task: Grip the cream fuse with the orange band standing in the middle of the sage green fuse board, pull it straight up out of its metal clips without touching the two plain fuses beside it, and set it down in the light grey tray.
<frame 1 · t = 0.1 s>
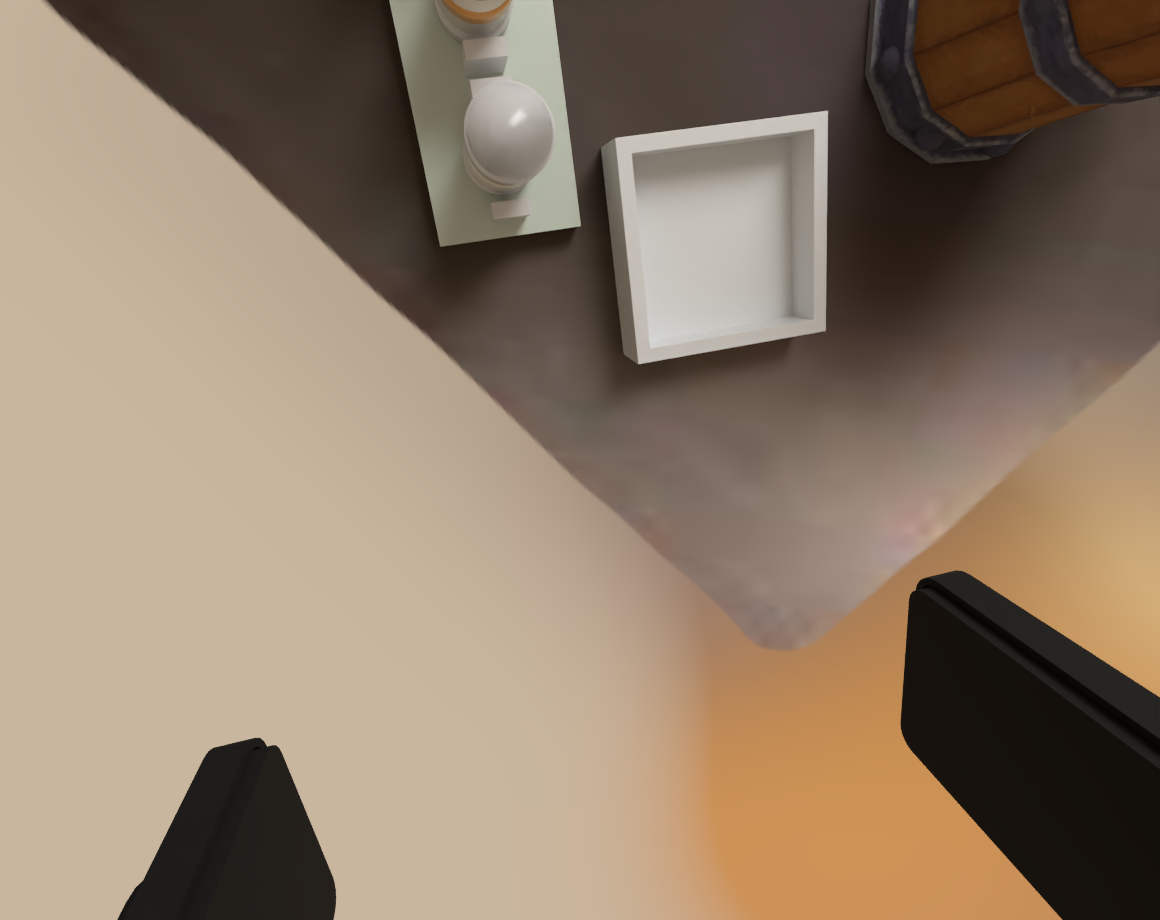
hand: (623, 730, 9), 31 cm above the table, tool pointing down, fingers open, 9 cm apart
tray: (706, 242, 38), on the table
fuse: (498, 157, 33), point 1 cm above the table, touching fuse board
marked fuse: (472, 2, 30), point 1 cm above the table, touching fuse board
fuse board: (472, 13, 32), on the table
mug: (1006, 21, 37), on the table
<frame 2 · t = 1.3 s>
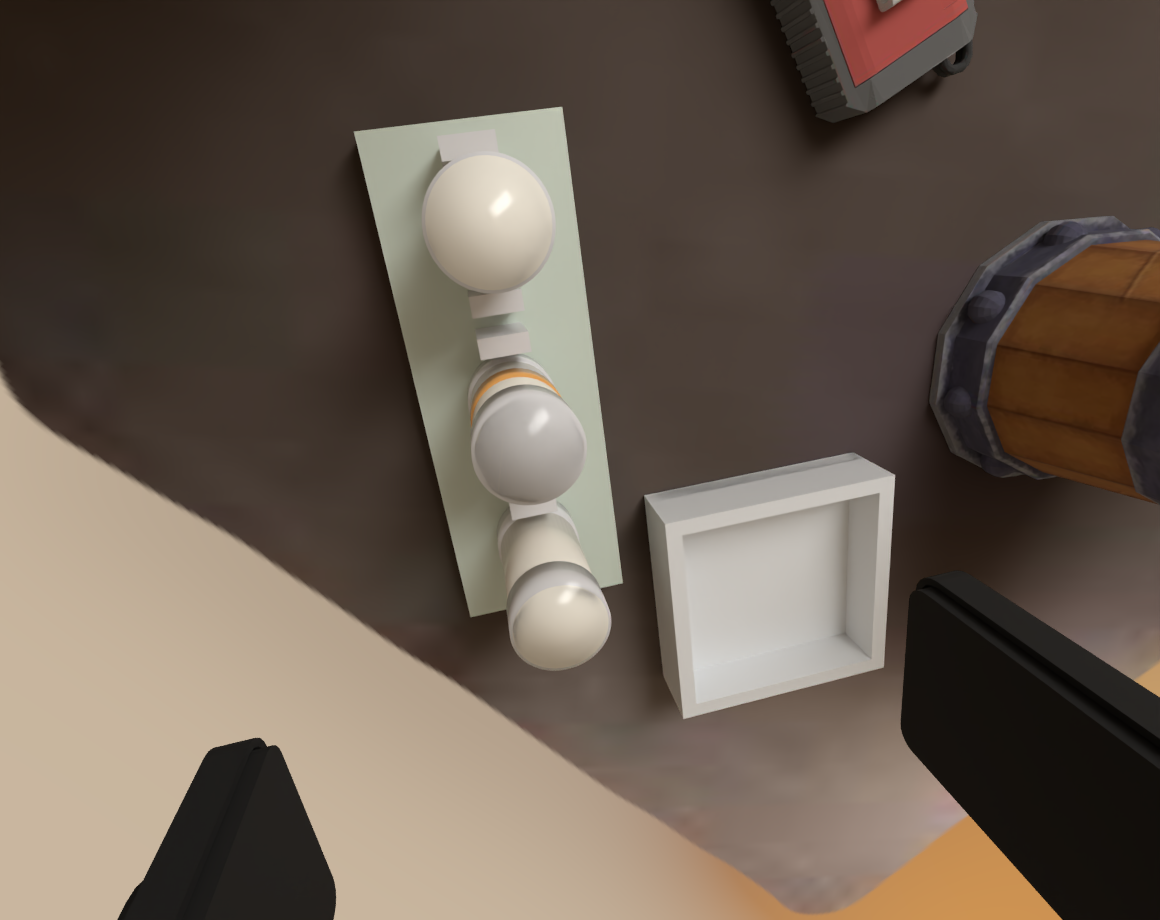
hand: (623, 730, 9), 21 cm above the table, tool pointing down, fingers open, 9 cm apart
tray: (754, 568, 35), on the table
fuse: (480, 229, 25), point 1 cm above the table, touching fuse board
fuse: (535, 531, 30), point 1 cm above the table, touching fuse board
marked fuse: (510, 394, 27), point 1 cm above the table, touching fuse board
fuse board: (507, 387, 29), on the table
mug: (1081, 337, 34), on the table
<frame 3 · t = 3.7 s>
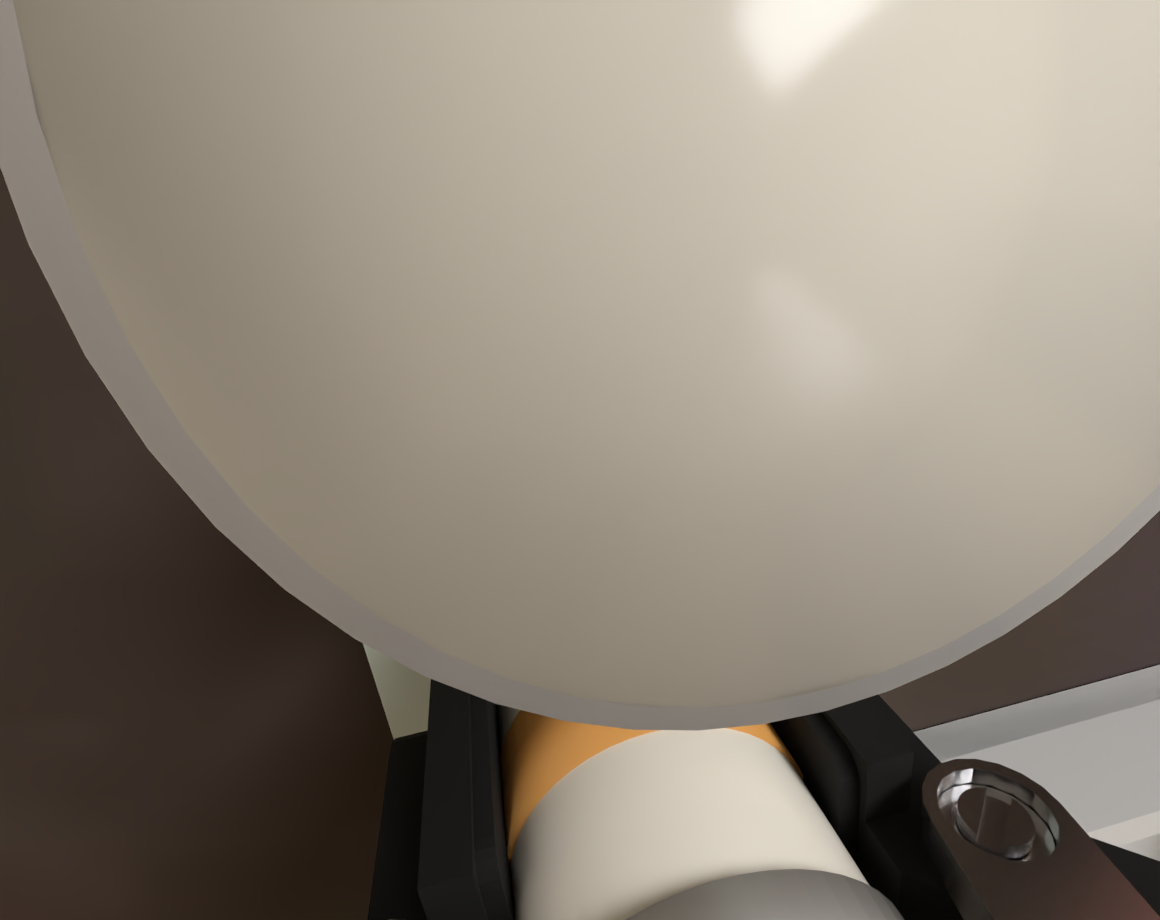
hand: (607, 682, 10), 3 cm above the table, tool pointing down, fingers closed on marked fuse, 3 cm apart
tray: (1003, 850, 19), on the table
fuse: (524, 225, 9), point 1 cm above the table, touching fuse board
marked fuse: (586, 619, 11), point 2 cm above the table, touching fuse board, gripper
fuse board: (572, 578, 13), on the table
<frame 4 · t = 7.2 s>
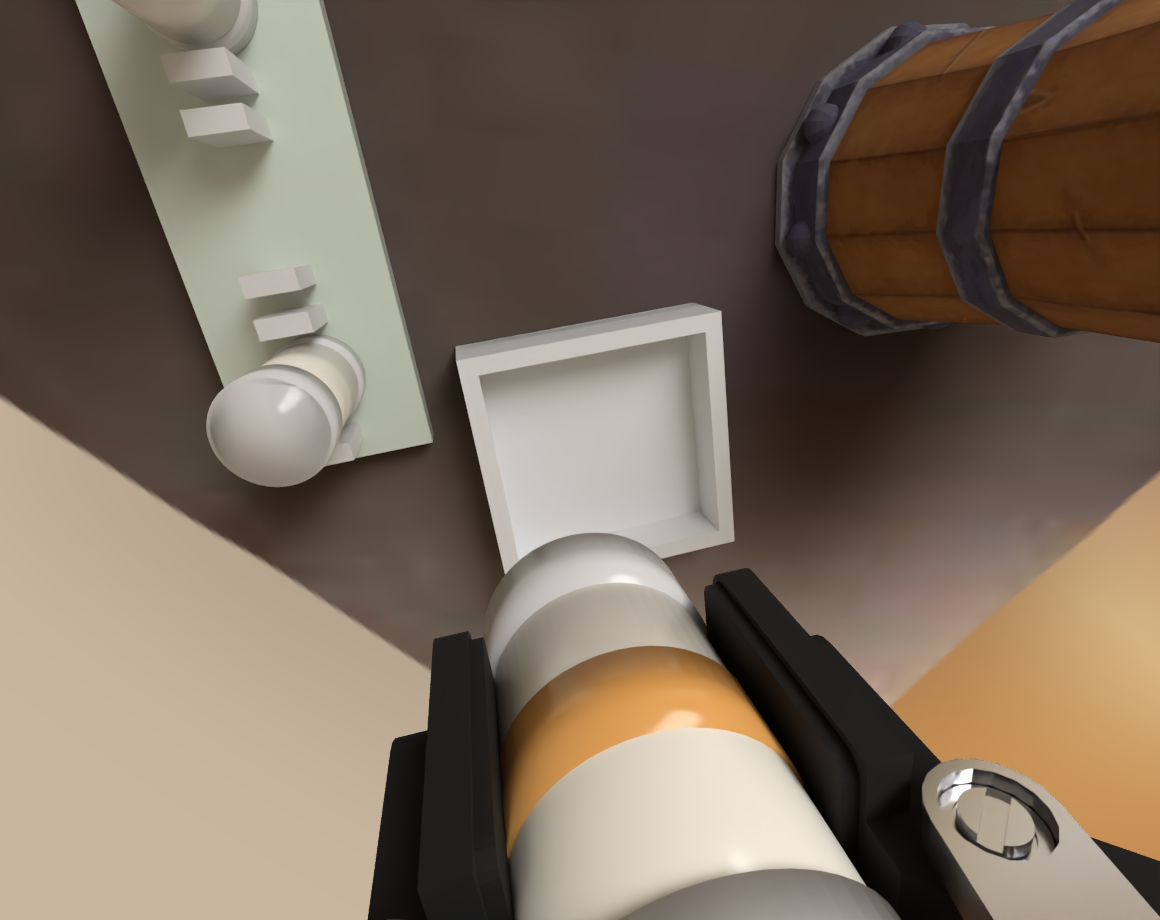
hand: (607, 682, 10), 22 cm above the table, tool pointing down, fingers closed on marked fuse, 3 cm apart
tray: (594, 437, 32), on the table
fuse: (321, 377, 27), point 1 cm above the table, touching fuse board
marked fuse: (585, 623, 11), point 20 cm above the table, touching gripper
fuse board: (277, 209, 26), on the table
mug: (944, 175, 31), on the table
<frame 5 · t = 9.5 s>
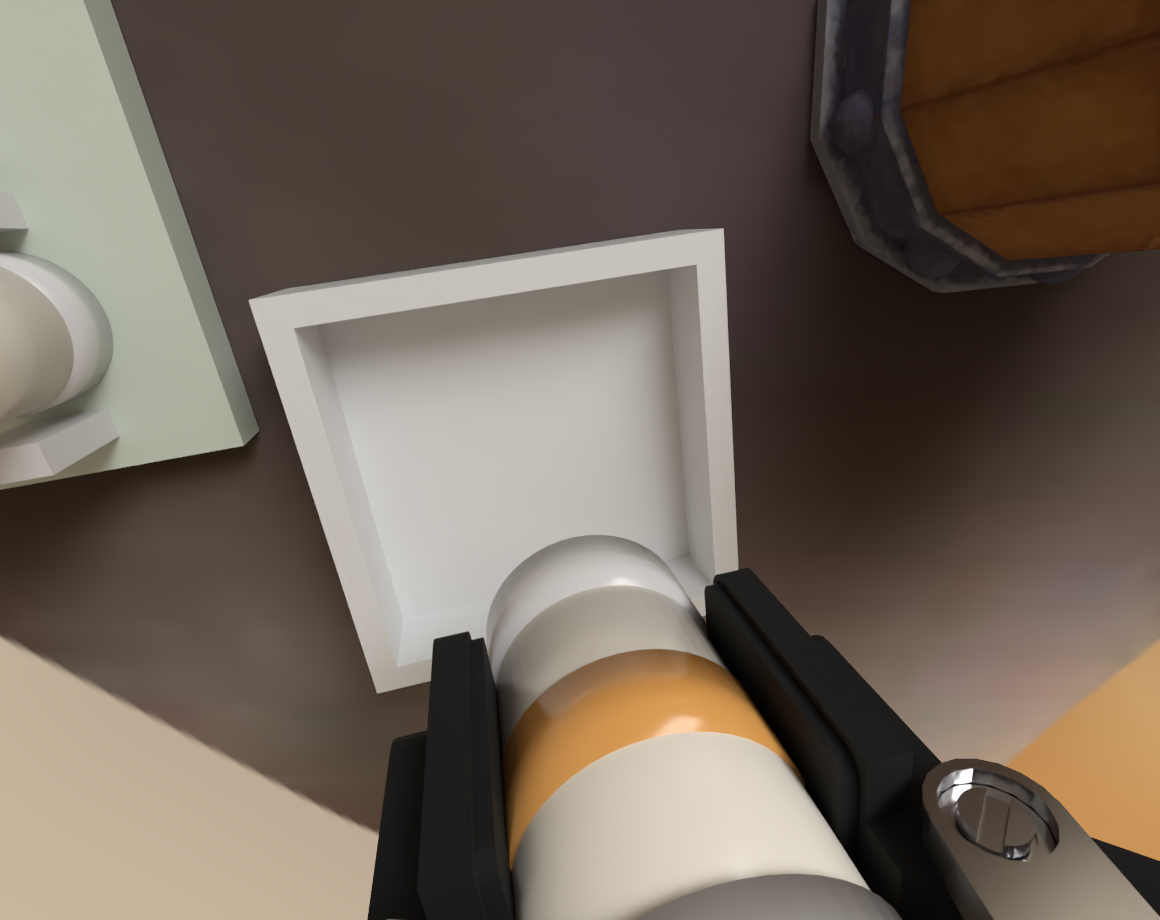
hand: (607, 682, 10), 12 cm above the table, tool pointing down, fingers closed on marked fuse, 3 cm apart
tray: (523, 442, 21), on the table
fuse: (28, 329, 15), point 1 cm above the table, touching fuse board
marked fuse: (587, 626, 11), point 10 cm above the table, touching gripper
mug: (1075, 38, 20), on the table
when the fingers open (4 cm above the table, at t = 11.2 s): marked fuse drops 1 cm, resting on tray.
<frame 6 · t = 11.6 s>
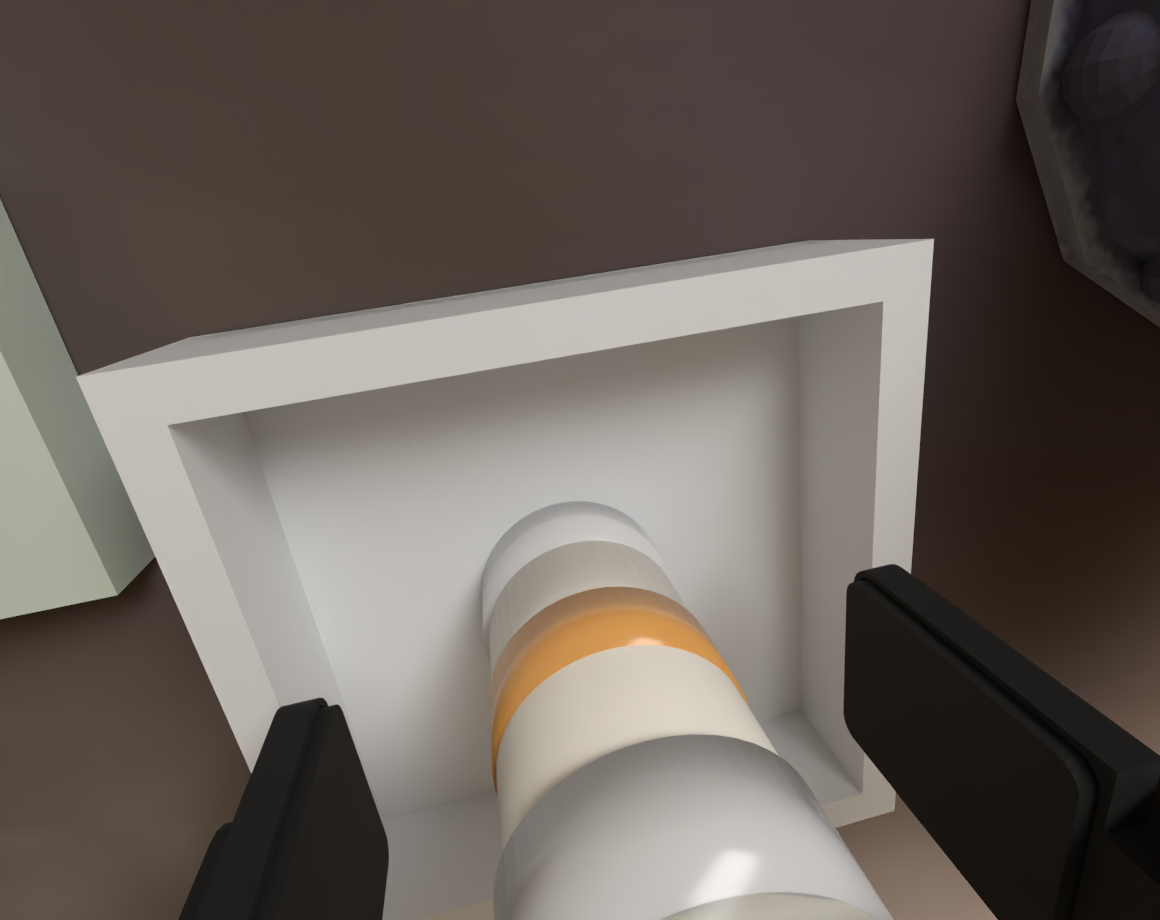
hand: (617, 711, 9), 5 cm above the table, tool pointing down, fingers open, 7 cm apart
tray: (565, 557, 14), on the table
marked fuse: (572, 584, 13), point 1 cm above the table, touching tray
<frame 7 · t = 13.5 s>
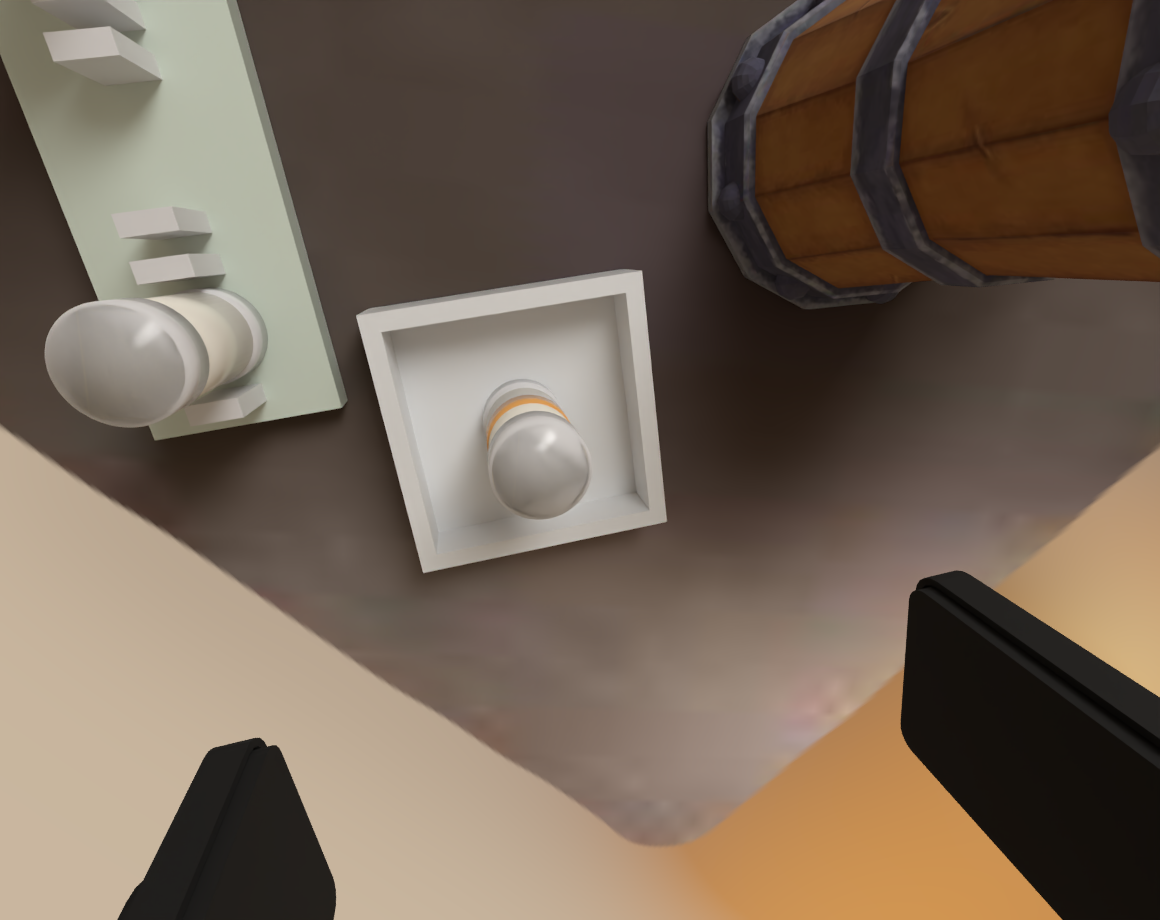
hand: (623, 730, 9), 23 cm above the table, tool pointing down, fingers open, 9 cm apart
tray: (520, 410, 31), on the table
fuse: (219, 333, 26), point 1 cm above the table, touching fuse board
marked fuse: (522, 417, 30), point 1 cm above the table, touching tray
fuse board: (174, 157, 25), on the table
mug: (887, 141, 30), on the table
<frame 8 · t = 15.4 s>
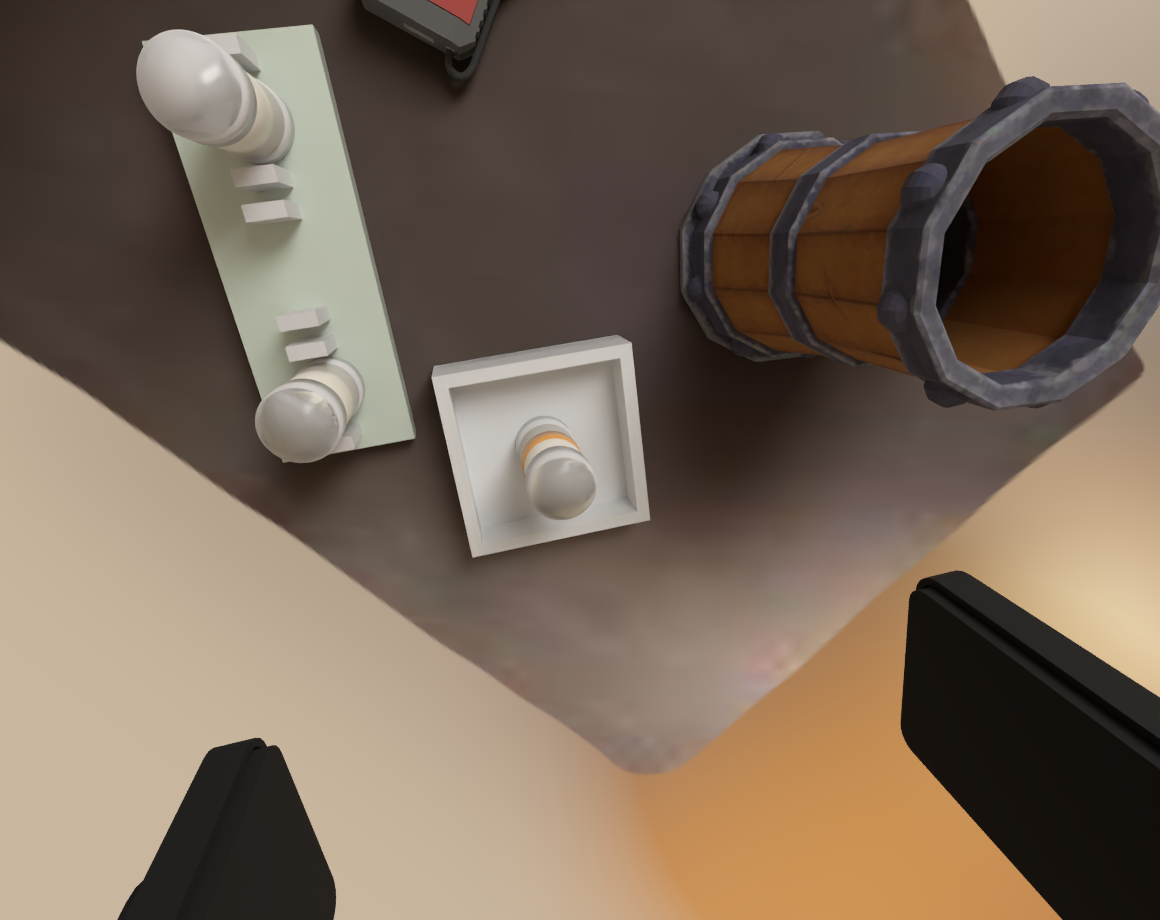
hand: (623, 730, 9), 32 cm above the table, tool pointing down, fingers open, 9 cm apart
tray: (542, 437, 41), on the table
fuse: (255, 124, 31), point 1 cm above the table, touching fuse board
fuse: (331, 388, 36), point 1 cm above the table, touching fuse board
marked fuse: (543, 443, 40), point 1 cm above the table, touching tray
fuse board: (302, 265, 35), on the table
mug: (813, 239, 40), on the table
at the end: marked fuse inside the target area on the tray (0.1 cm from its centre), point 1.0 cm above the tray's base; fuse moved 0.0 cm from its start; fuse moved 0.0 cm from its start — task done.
